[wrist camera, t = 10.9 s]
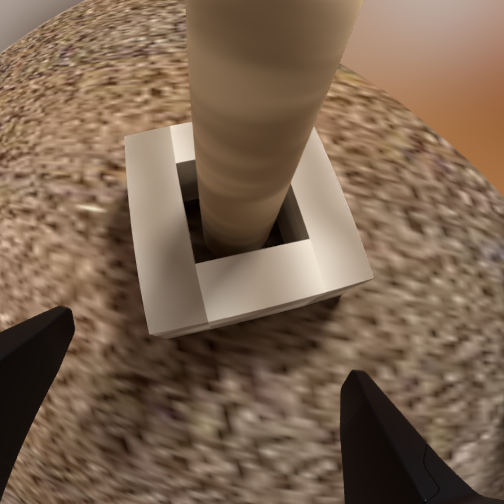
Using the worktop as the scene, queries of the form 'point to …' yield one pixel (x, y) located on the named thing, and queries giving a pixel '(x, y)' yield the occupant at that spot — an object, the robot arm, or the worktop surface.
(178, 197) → the socket block
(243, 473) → the worktop surface
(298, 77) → the wooden stick
